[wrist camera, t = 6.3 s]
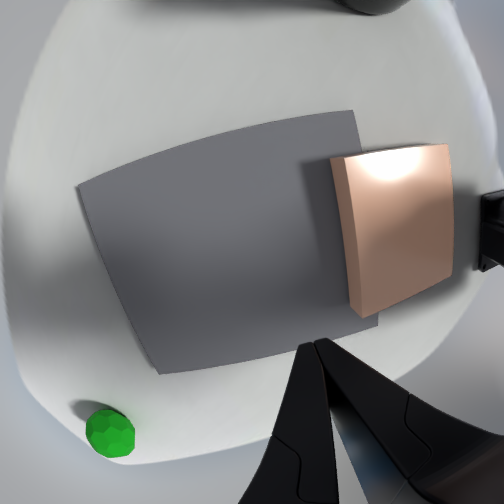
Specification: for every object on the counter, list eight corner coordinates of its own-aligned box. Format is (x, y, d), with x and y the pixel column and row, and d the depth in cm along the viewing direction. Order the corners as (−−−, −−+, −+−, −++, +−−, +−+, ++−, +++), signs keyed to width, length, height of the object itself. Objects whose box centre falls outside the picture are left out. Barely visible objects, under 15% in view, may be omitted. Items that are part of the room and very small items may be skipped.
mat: (347, 111, 14) (352, 109, 13) (373, 319, 18) (377, 325, 18) (84, 183, 14) (78, 185, 13) (161, 367, 19) (158, 374, 18)
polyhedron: (110, 394, 20) (94, 434, 15) (150, 424, 21) (141, 463, 17) (86, 407, 21) (71, 441, 16) (122, 433, 22) (112, 468, 18)
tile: (329, 158, 14) (430, 143, 14) (350, 306, 16) (437, 267, 17) (344, 158, 12) (447, 143, 13) (362, 318, 15) (451, 275, 16)
